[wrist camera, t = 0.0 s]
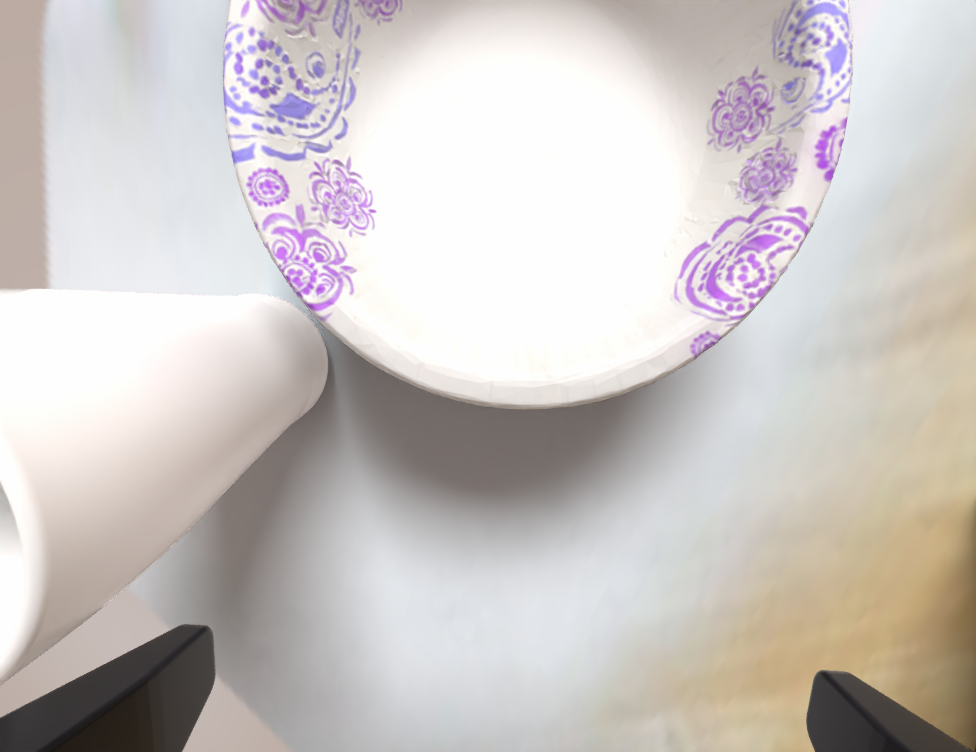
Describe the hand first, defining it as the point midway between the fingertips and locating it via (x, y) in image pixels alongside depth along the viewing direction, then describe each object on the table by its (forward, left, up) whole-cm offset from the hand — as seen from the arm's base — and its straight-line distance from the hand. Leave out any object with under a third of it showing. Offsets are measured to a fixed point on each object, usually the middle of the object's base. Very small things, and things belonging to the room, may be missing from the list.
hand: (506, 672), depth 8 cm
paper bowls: (+10, 0, -15) cm, 18 cm away
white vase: (+2, +10, -15) cm, 18 cm away
